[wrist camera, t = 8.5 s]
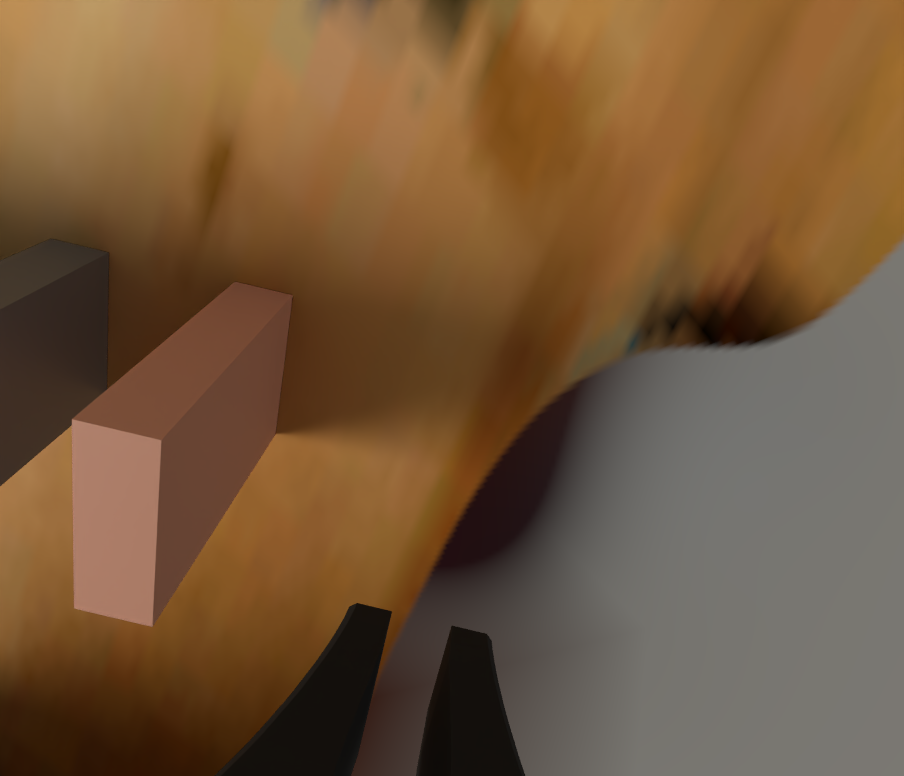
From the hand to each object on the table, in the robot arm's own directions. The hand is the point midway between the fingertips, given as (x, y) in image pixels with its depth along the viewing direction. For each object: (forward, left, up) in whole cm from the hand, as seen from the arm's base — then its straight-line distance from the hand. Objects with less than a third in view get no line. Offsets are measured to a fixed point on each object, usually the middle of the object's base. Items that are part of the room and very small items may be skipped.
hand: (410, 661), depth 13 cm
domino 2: (0, +6, -9) cm, 11 cm away
